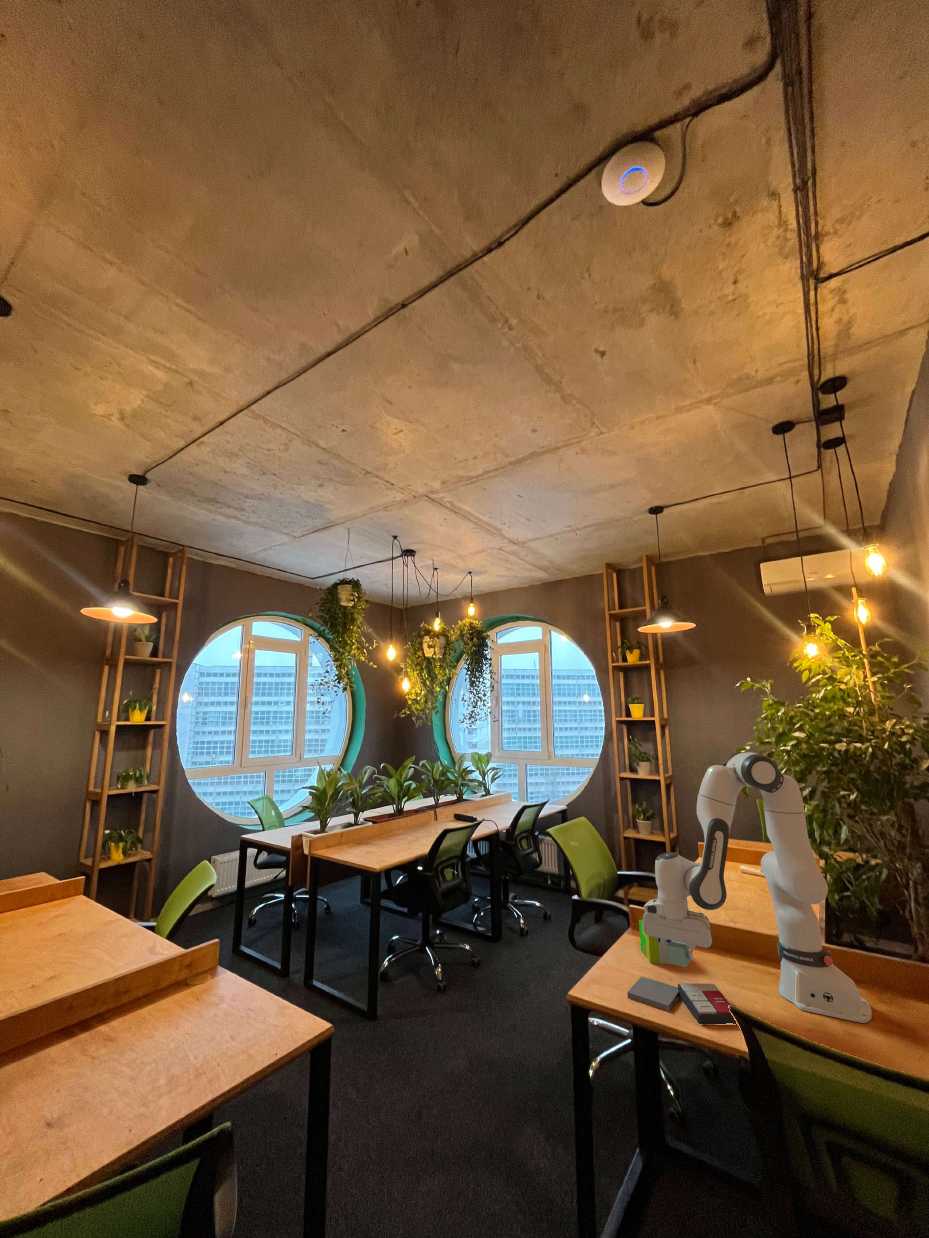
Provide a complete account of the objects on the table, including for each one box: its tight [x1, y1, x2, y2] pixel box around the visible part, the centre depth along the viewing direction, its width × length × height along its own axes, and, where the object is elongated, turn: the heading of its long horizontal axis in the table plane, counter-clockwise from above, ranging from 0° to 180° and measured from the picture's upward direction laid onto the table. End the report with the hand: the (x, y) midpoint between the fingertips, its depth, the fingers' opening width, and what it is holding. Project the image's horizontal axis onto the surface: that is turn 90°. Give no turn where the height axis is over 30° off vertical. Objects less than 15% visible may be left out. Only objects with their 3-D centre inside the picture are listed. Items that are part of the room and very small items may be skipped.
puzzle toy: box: [638, 919, 672, 964], centre depth 178 cm, size 10×10×10 cm
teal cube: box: [667, 941, 691, 968], centre depth 159 cm, size 5×5×5 cm
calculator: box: [677, 982, 738, 1027], centre depth 145 cm, size 11×4×15 cm
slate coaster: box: [627, 975, 680, 1012], centre depth 152 cm, size 12×12×2 cm
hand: (679, 956), depth 159 cm, fingers closed on teal cube, 5 cm apart
